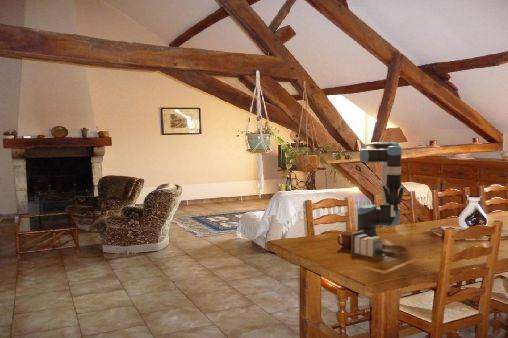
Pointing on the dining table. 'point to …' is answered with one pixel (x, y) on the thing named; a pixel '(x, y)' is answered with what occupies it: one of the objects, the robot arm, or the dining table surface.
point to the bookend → (378, 250)
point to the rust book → (363, 246)
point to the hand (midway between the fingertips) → (393, 216)
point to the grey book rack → (389, 255)
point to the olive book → (371, 244)
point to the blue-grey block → (358, 242)
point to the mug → (345, 240)
